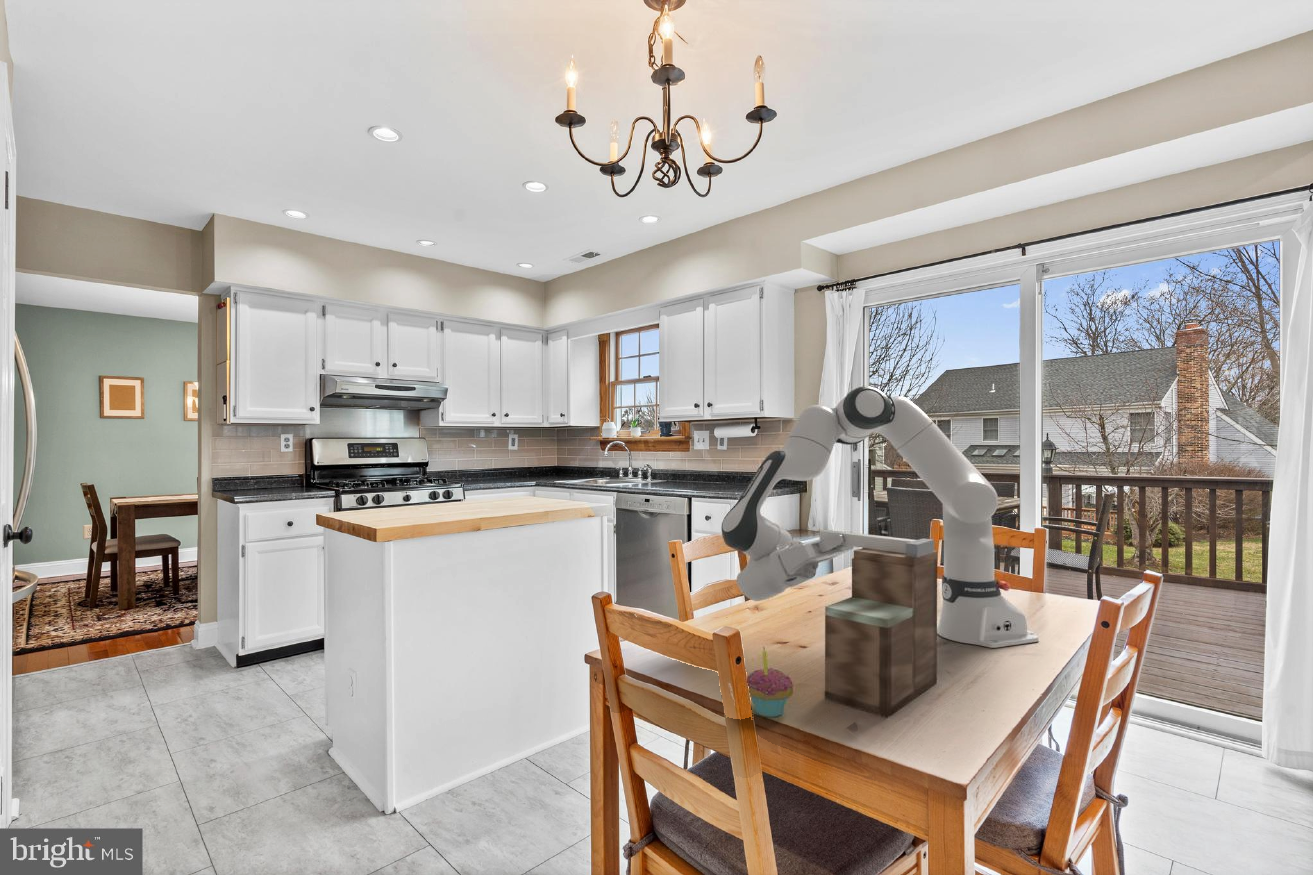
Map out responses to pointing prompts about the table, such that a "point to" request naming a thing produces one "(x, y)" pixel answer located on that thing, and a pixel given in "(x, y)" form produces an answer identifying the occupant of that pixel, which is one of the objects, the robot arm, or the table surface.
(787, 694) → the cupcake
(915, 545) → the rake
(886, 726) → the table surface
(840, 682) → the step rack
